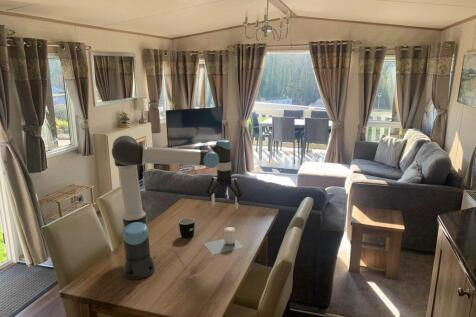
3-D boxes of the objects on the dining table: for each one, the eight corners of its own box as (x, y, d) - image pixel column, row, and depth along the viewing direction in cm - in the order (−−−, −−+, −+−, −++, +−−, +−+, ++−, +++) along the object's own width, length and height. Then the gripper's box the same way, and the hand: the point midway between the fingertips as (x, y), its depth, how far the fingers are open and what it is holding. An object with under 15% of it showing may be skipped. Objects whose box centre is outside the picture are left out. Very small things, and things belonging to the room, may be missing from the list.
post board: (212, 256, 188) (211, 242, 186) (203, 245, 201) (203, 231, 199) (243, 249, 196) (243, 235, 194) (233, 238, 208) (232, 225, 206)
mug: (190, 241, 205) (189, 225, 203) (176, 239, 209) (175, 223, 207) (200, 233, 216) (199, 217, 214) (187, 230, 220) (186, 215, 217)
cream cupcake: (237, 241, 199) (237, 229, 197) (229, 244, 195) (229, 232, 193) (230, 237, 203) (229, 226, 202) (222, 241, 199) (221, 229, 198)
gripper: (248, 168, 191) (248, 206, 196) (204, 165, 198) (206, 202, 203) (244, 172, 184) (245, 211, 189) (199, 169, 191) (201, 207, 196)
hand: (224, 206), depth 196 cm, fingers open, 13 cm apart
